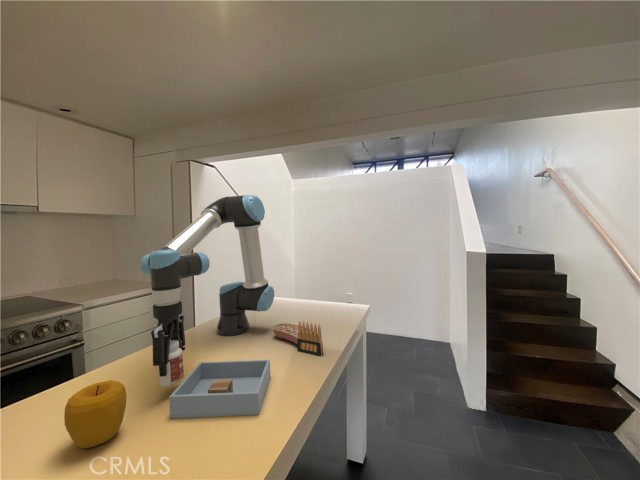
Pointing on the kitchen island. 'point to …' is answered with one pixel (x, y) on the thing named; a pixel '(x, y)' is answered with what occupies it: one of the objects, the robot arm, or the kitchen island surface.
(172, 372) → the pill bottle
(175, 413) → the tote
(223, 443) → the kitchen island surface
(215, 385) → the walnut cube
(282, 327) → the anatomical model
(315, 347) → the ammunition clip
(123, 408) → the apple
